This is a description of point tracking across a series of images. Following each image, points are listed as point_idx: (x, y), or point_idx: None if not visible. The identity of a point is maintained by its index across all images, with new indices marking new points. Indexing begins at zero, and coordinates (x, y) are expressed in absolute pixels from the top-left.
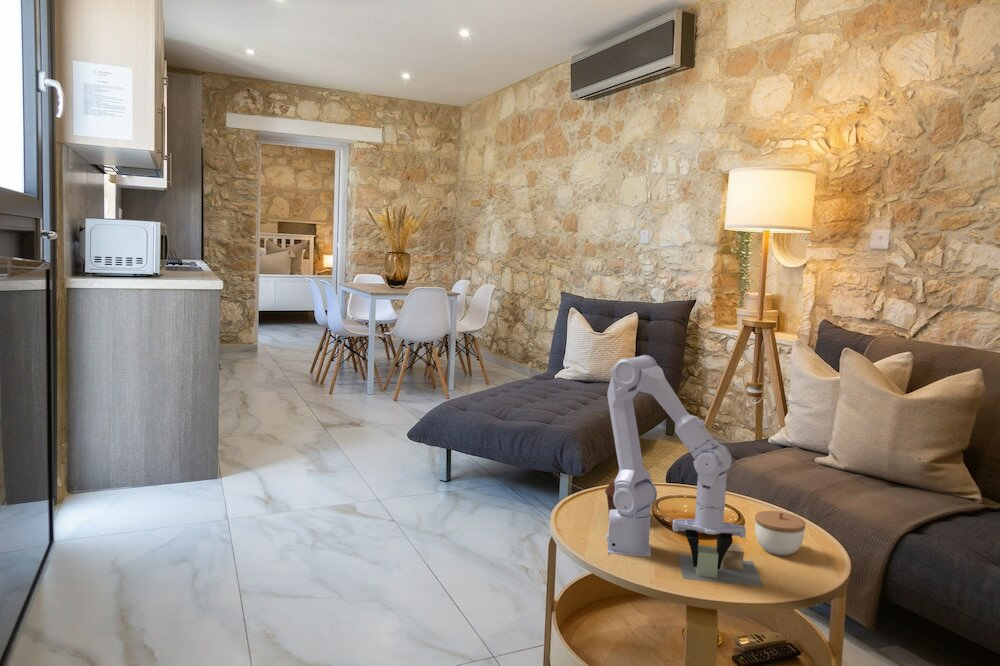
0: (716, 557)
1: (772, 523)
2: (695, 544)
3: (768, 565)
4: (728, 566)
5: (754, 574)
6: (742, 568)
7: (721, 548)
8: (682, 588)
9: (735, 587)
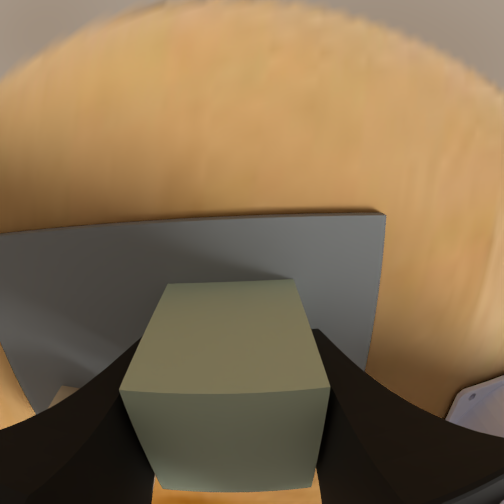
0: (142, 368)
1: None
2: (401, 444)
3: (14, 422)
4: None
5: (15, 351)
6: (59, 390)
7: (72, 436)
8: (393, 102)
9: (71, 204)
